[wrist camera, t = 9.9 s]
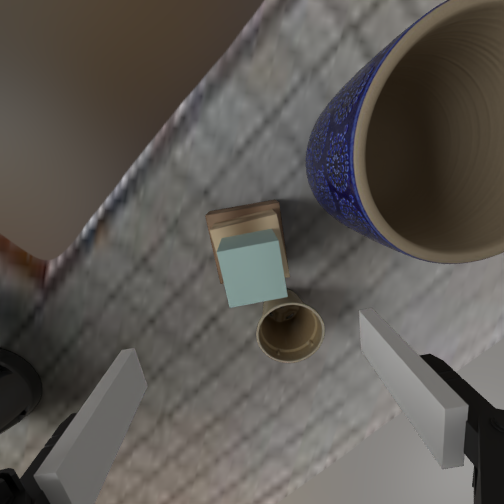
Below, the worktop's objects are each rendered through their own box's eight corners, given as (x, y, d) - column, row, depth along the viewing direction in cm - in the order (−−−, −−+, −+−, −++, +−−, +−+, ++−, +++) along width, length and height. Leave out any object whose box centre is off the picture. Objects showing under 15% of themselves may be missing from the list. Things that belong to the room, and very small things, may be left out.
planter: (355, 56, 34) (509, -108, 15) (446, 148, 38) (668, 116, 18) (268, 172, 38) (296, 166, 18) (358, 246, 42) (463, 308, 22)
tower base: (223, 271, 42) (220, 283, 38) (209, 211, 40) (205, 215, 35) (283, 261, 42) (288, 272, 37) (274, 199, 39) (279, 202, 35)
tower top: (229, 276, 37) (227, 291, 33) (214, 223, 35) (209, 230, 30) (284, 263, 37) (290, 276, 32) (272, 208, 35) (276, 214, 30)
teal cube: (231, 284, 32) (229, 307, 26) (221, 238, 31) (216, 252, 25) (279, 275, 32) (287, 296, 26) (271, 228, 31) (278, 240, 25)
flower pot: (271, 268, 42) (278, 291, 34) (320, 294, 44) (338, 321, 35) (244, 314, 44) (244, 346, 36) (291, 337, 46) (301, 372, 38)
